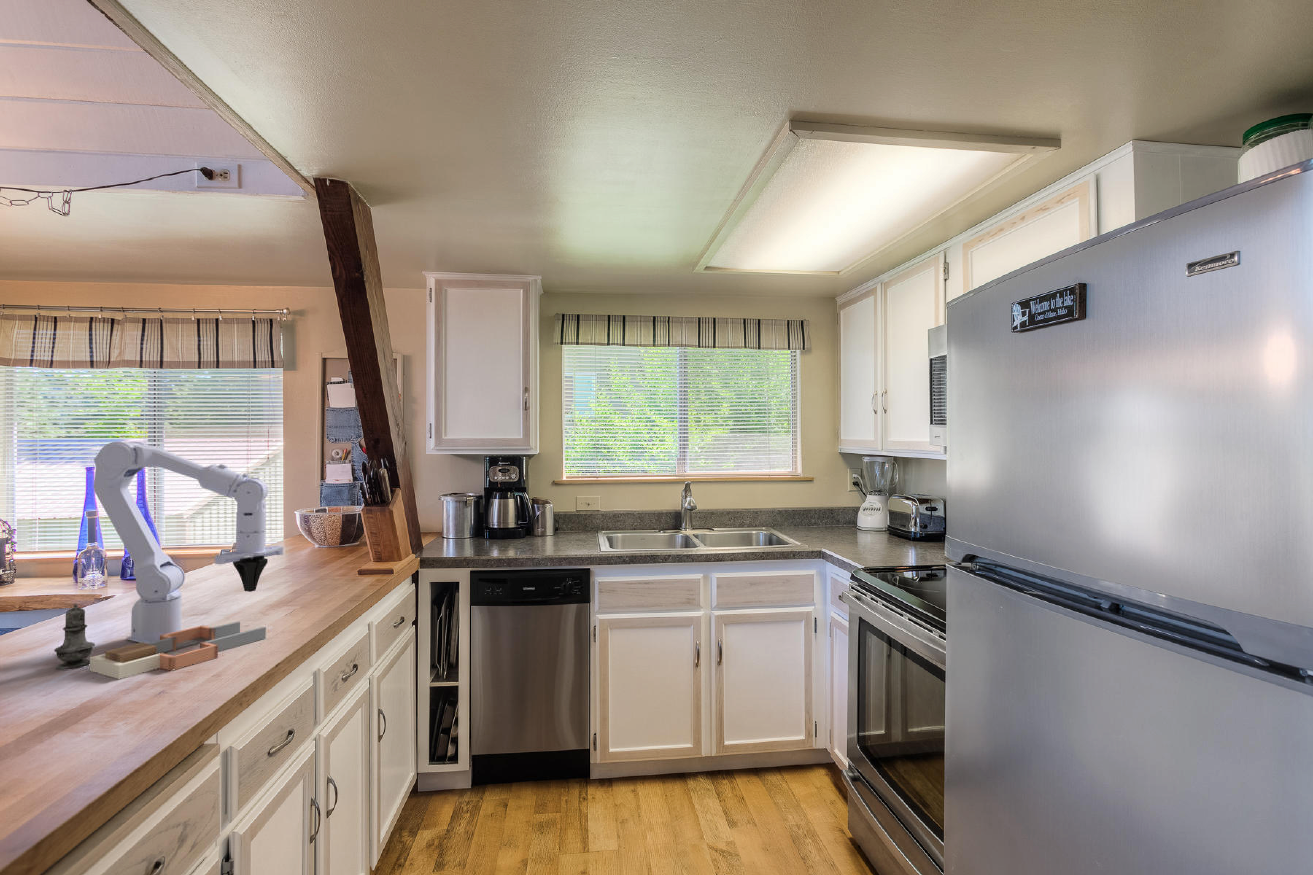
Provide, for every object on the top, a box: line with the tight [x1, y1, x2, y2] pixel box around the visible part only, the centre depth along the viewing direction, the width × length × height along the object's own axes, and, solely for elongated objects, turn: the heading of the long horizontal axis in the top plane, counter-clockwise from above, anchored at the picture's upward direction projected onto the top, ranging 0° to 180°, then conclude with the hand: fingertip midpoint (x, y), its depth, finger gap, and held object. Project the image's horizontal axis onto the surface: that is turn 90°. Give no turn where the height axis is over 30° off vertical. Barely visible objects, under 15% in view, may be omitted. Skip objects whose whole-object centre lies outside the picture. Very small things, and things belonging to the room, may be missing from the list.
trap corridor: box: [89, 621, 267, 680], centre depth 133 cm, size 17×28×2 cm, turn 155°
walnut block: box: [104, 642, 156, 663], centre depth 124 cm, size 5×6×4 cm
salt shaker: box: [53, 603, 96, 671], centre depth 126 cm, size 6×6×12 cm
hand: (249, 590), depth 149 cm, fingers closed
